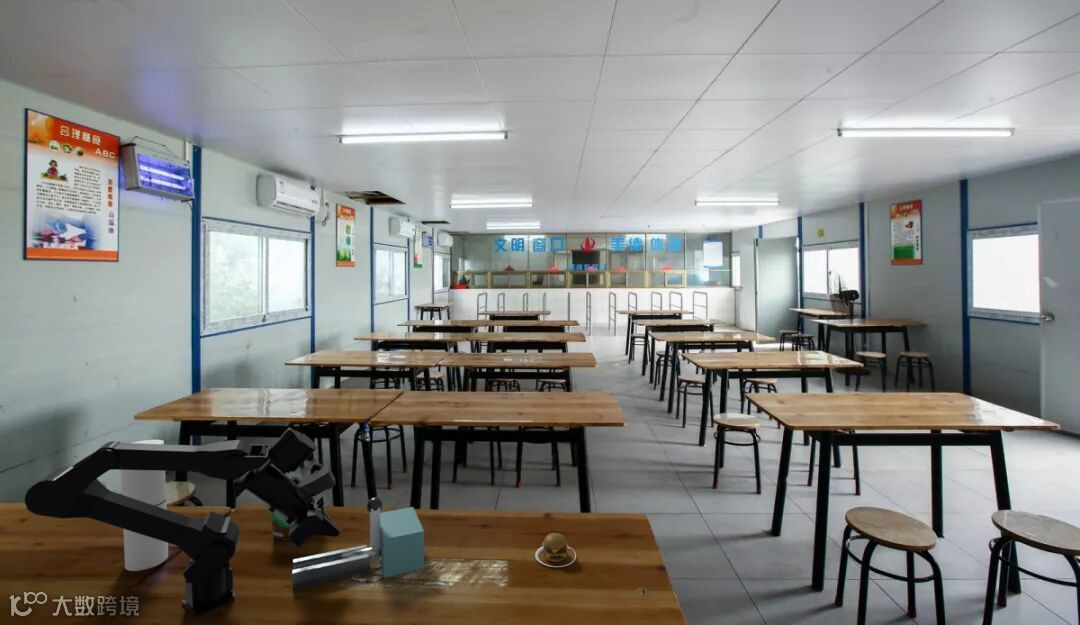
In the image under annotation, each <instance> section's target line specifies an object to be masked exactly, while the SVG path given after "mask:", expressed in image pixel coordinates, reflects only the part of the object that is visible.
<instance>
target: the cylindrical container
mask: <svg viewBox="0 0 1080 625" xmlns="http://www.w3.org/2000/svg"><path fill="white" fill-rule="evenodd" d="M132 443H140V444H165V441H164V440H163V439H145V440H144V439H143V440H138V441H134V442H132ZM120 481H121V484H120V485H121V495H124V496H127V497H130V498H133V499H136V500H139V501H142V502H145V503H148V504H151V505H154V506H157V507H160V508H163V509H166V510H168V508H167V486H166V471H159V470H120ZM122 530H123V546H124V547H123V548H124V549H123V550H124V569H125V570H127V571H131V572H139V571H143V570H148V569H151V568H154V567H156V566H159V565H160V564H162V563H164V562H165V561H166V560H167V559H168V558H169V543H167V542H164V541H161V540H157V539H154V538H151V537H148V536H145V535H141V534H138V533H135V532H132V531H129V530H125V529H122Z"/></svg>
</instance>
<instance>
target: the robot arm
mask: <svg viewBox="0 0 1080 625" xmlns="http://www.w3.org/2000/svg"><path fill="white" fill-rule="evenodd" d="M317 450H318V447H317V445H316V443H315V442H314V441H313V440H312V439H311V438H309V437H308V435H306V434H305V433H301V432H300V431H299V430H294V429H293V428H291V427H288V428H287V429H286V430H284V432H282V434H281V435H280V437H279V438H278V439H277V440H276V441H275V442H274V443H273V444H256V443H255V444H254V443H253V444H252V443H251V444H250V443H249V441H247V440H242V439H235V440H225V441H224V440H222V441H217V442H213V443H208V444H203V445H201V444H200V445H191V444H190V445H187V444H165V443H164V444H140V443H133V442H122V441H120V440H119V441H117V440H115V441H109V442H106V443H105V444H103V445H101V446H100V447H99V448H97V450H95V451H94V452H92V453H91V454H89V455H88V456H85V457H84V458H82V459H81V460H79V461H78V462H76V463H75V464H74V465H72V466H64V467H60V468H59V467H58V468H56V469H55V470H53V471H50V472H49V473H48V474H47V475H45V476H44V477H42V478H41V479H40V480H39V481H37V482H35V483H34V484H33V485H32V486H31V487H29V489H28V490H27V491H26V493H25V495H24V504H25V506H26V510H27V511H28V512H30V513H31V514H33V515H36V516H40V517H47V518H55V519H61V520H63V519H67V520H69V519H90V520H94V521H97V522H100V523H103V524H106V525H110V526H113V527H117V528H119V529H122V530H123V529H125V530H129V531H132V532H135V533H138V534H141V535H145V536H148V537H151V538H154V539H157V540H161V541H164V542H167V543H168V544H171V545H173V546H176V547H178V549H179V550H181V551H182V552H183V553H184V554H185V555H186V556H187V557H188V558H189V560H188V562H187V564H186V567H185V569H184V571H183V574H182V575H183V577H184V579H185V580H184V582H185V598H183V599H182V600H181V602H182V605H184V606H185V608H187V610H189V611H190V612H191V613H192V614H193V615H194V616H200V615H201V614H203V613H206V612H208V611H209V610H212V609H214V608H216V607H218V606H220V605H222V604H224V603H227V602H228V601H229V602H230V601H231V600H233V599H234V598H235V596H236V595H235V593H234V592H233V590H234V569H233V568H232V567H231V562H229V561H230V560H231V559H232V558H233V557H234V555H235V553H236V550H237V547H238V542H239V539H240V528H239V525H238V524H237V523H235V522H234V521H232V519H233V517H232V516H223V515H220V514H219V513H216V512H214V511H209V513H208V514H207V516H206V518H205V517H201V518H200V517H199V518H193V517H189V516H186V515H184V514H180V513H177V512H174V511H171V510H168V509H167V510H166V509H163V508H160V507H157V506H154V505H151V504H148V503H145V502H142V501H139V500H136V499H133V498H130V497H127V496H124V495H122V493H118V492H115V491H111V489H108V488H107V487H106V485H104V484H103V483H102V482H101V481H100V480H99V477H101V476H103V475H104V474H105V473H107V472H109V471H111V470H112V471H113V470H114V471H115V470H118V471H121V470H159V471H165V472H167V471H168V472H169V471H171V472H193V473H198V474H200V475H203V476H205V477H208V478H214V479H219V480H223V481H224V480H225V481H233V482H232V486H233V487H232V488H233V498H234V499H236V498H239V497H240V495H242V494H243V492H245V490H246V491H248V492H249V493H251V494H252V495H253V496H255V498H257V499H259V500H261V502H263V503H264V504H266V505H269V508H268V507H267V508H268V509H267V510H268V511H269V512H270V511H271V512H272V513H273V512H274V511H275V510H276V511H277V512H279V513H280V514H282V515H283V516H285V517H286V523H288V524H289V525H290V524H291V523H292V522H293V521H294V520H296V521H295V522H294V523H293V524H292V526H291V527H290V528H289V540H288V544H290V545H291V546H293V547H295V549H298V548H300V547H301V546H302V545H303V544H304V543H305V542H306V541H307V540H308V539H309V538H310V537H311V536H323V537H332V538H337V537H339V535H340V534H341V530H340V529H339V527H338V526H337V525H336V523H335V522H334V521H333V519H332V518H331V517H330V516H329V514H328V513H327V511H326V509H325V499H324V496H320V497H319V498H318V501H315V500H314V498H313V497H314V496H316V495H318V494H320V493H321V494H322V493H323V492H326V491H327V490H331V489H332V488H333V487H335V485H336V477H335V476H334V474H333V472H332V470H331V467H329V465H328V464H324V465H323V464H322V463H320V462H318V461H316V462H315V463H313V464H312V465H310V473H307V474H306V476H305V477H303V478H301V479H300V478H298V477H297V476H292V477H291V478H290V477H289V476H288V475H286V474H285V473H287V474H290V473H291V472H293V473H294V472H296V471H297V470H298V469H299V468H300V467H301V466H302V465H303V464H304V463H305V462H306V461H307V460H309V458H310V457H311V456H312V455H313V454H314V453H315V452H316V451H317Z"/></svg>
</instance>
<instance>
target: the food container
mask: <svg viewBox="0 0 1080 625" xmlns="http://www.w3.org/2000/svg"><path fill="white" fill-rule="evenodd" d="M321 495H322V492H321V493H320V494H318V495H316V496H314V497H313V498H314V500H315V501H318V500H319V499H320V498H321V497H322V496H321ZM265 506H266V508H269V505H267V504H266V505H265ZM269 512H270V513H269V514H270V521H271V527H272V533H273V538H274V539H275V538H276V540H279V539H282V540H281V541H285V540H284V539H289V528H290V527H291V526H292V524H293V523H294V522H295V521H296V520H294V521H293V522H292V523H291V524H290V525H289V524H288V523H286V517H285V516H283V515H282V514H280V513H279V512H277V511H276V510H275V511H274V512H273V513H272V512H271V511H269Z"/></svg>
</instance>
